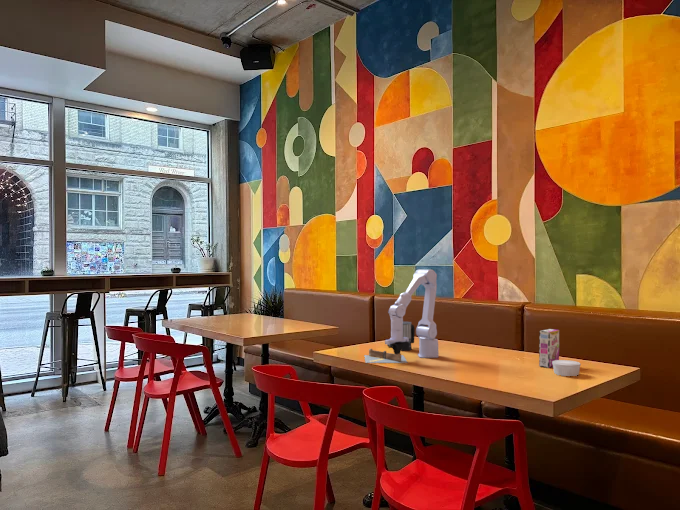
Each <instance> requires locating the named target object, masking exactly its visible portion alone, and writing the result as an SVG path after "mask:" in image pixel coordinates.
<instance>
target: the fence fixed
mask: <svg viewBox="0 0 680 510" xmlns="http://www.w3.org/2000/svg"><path fill="white" fill-rule="evenodd" d="M386 353H387V350H383V351H380V350H374V349H373V348H369V349H368V355H369V356H375V357H381V358H384V359H386Z"/></svg>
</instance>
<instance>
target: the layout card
mask: <svg viewBox="0 0 680 510" xmlns="http://www.w3.org/2000/svg"><path fill="white" fill-rule="evenodd" d="M363 356H364V357H365V358H364V361H365V364H408V361H407V359H406V357H405V356H404V355H403V354H401V361H396V360H391V359H384V358H381V357H375V356H369V354H368V355H367V354H365V355H363Z"/></svg>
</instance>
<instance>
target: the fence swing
mask: <svg viewBox="0 0 680 510" xmlns="http://www.w3.org/2000/svg"><path fill="white" fill-rule="evenodd" d="M401 355H402V353H400V354H394V353H391V352H386V359H391V360H396V361H401Z"/></svg>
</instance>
